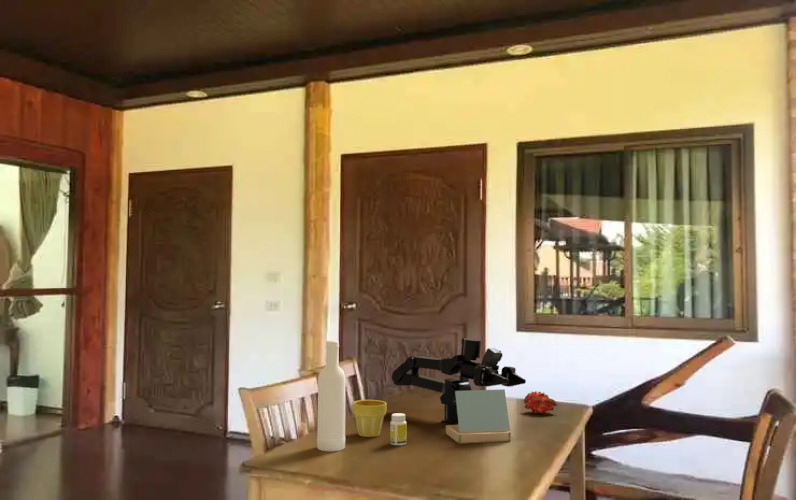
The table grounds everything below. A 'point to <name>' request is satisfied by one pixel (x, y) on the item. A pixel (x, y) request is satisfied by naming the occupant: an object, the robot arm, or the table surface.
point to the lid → (482, 411)
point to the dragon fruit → (539, 402)
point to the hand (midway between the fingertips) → (517, 381)
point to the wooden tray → (476, 436)
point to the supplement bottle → (398, 429)
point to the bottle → (331, 402)
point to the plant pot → (369, 416)
